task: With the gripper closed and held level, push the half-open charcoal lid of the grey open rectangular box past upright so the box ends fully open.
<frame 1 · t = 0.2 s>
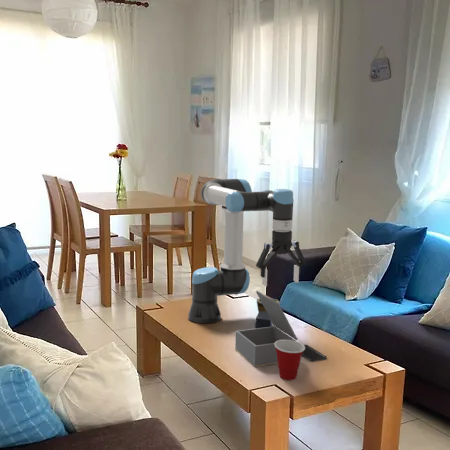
hand: (280, 283, 220), 28 cm above the table, tool pointing down, fingers open, 13 cm apart
plastic cup: (288, 377, 200), on the table
grey open rectangular box: (264, 355, 220), on the table
ceramic cup: (265, 321, 261), on the table
small box: (263, 339, 238), on the table
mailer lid: (276, 314, 219), point 16 cm above the table, hinge at 60.0°
phone: (308, 355, 222), on the table
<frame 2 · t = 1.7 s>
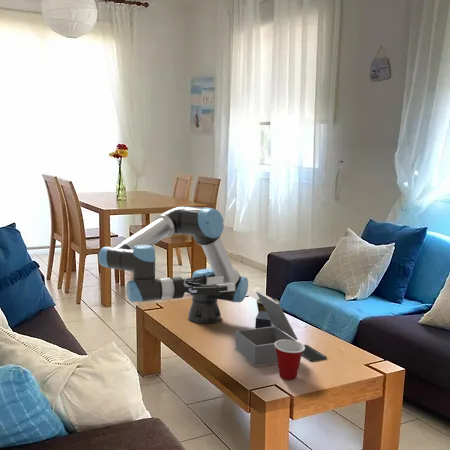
hand: (228, 283, 209), 30 cm above the table, tool horizontal, fingers open, 10 cm apart
nothing on the table moved.
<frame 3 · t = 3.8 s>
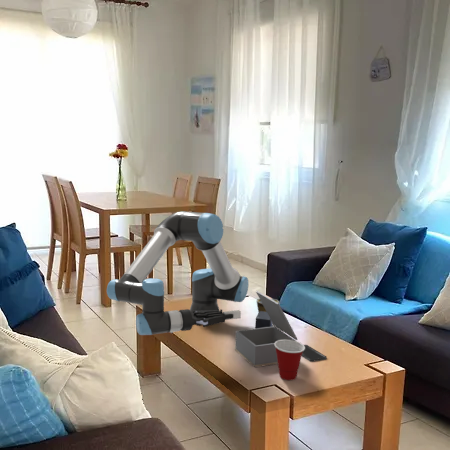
hand: (239, 314, 212), 18 cm above the table, tool horizontal, fingers closed
nothing on the table moved.
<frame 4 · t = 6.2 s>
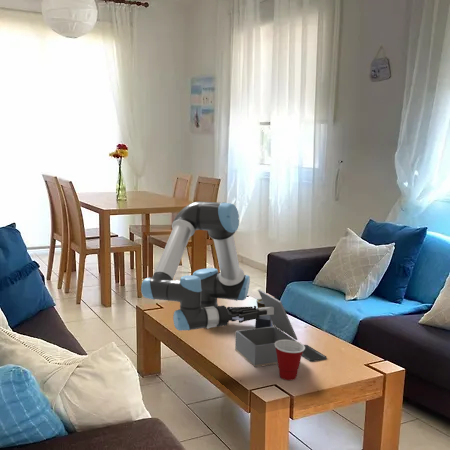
hand: (272, 310, 217), 18 cm above the table, tool horizontal, fingers closed
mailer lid: (277, 313, 219), point 16 cm above the table, hinge at 63.7°, touching gripper
everything else where it was.
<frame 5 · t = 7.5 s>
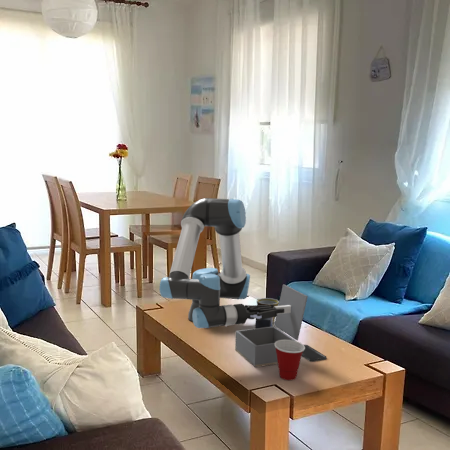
hand: (289, 308, 220), 18 cm above the table, tool horizontal, fingers closed
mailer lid: (290, 311, 221), point 17 cm above the table, hinge at 101.9°, touching gripper
everything else where it was.
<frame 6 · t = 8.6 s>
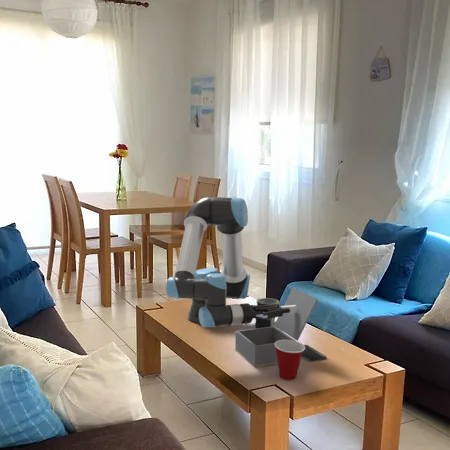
hand: (295, 308, 221), 18 cm above the table, tool horizontal, fingers closed
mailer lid: (295, 313, 222), point 16 cm above the table, hinge at 118.2°, touching gripper
everything else where it was.
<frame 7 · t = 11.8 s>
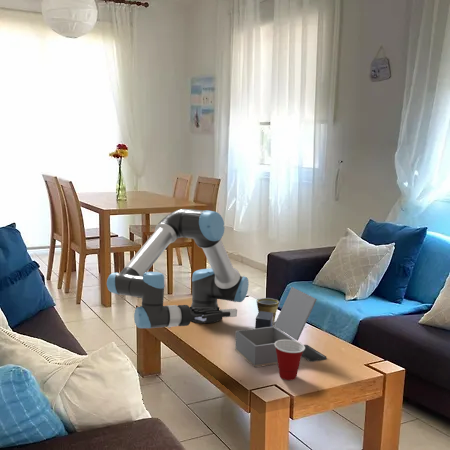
hand: (236, 312, 214), 18 cm above the table, tool horizontal, fingers closed
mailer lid: (295, 312, 222), point 16 cm above the table, hinge at 116.3°
everything else where it was.
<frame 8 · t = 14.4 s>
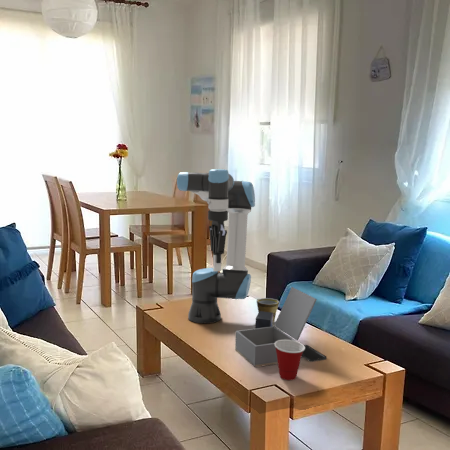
hand: (217, 270, 219), 32 cm above the table, tool pointing down, fingers closed
nothing on the table moved.
at the end: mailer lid at +116° (first picture: +60°) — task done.
